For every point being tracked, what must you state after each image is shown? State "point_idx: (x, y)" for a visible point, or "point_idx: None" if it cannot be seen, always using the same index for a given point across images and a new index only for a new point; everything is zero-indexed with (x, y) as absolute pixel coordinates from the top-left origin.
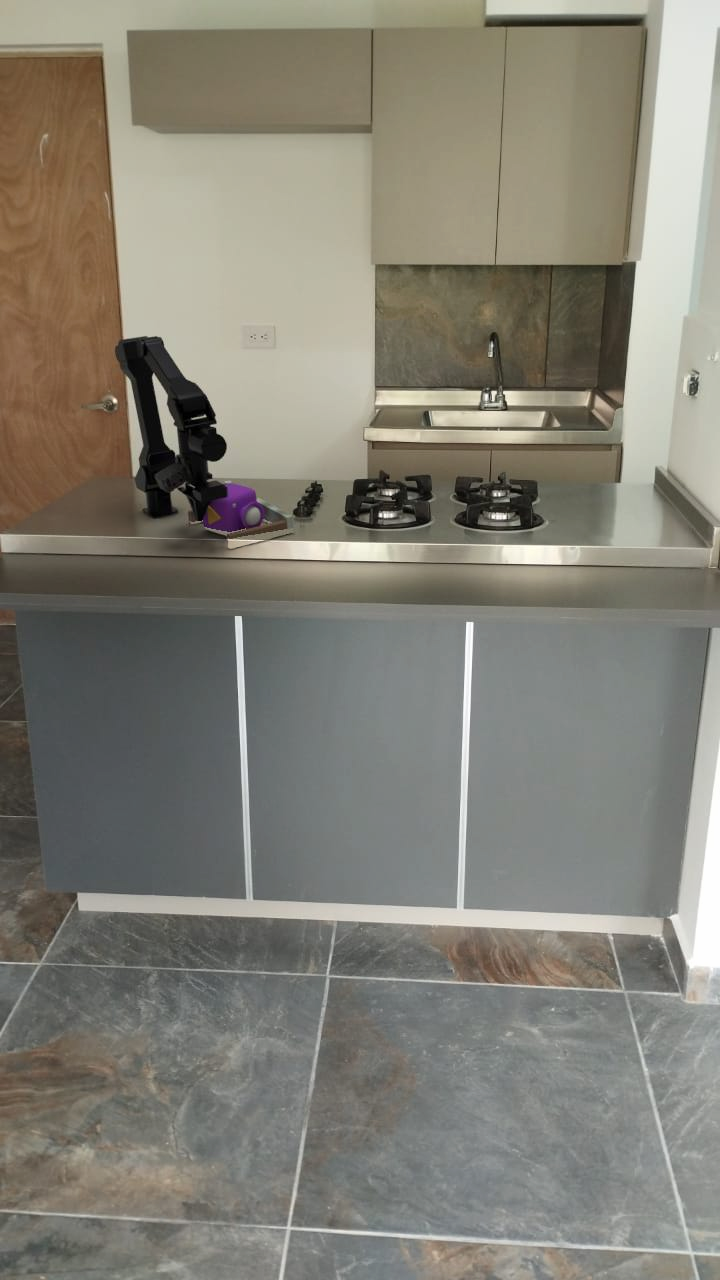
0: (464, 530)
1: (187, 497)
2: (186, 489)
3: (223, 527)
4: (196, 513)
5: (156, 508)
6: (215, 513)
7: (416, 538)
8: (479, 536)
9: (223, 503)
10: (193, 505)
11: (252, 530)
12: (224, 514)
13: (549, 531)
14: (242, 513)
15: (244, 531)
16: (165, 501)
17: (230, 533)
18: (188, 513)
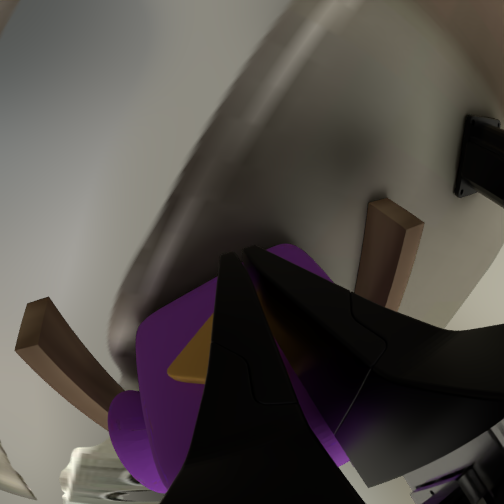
0: (111, 490)
1: (426, 334)
2: (482, 435)
3: (157, 339)
4: (225, 296)
5: (489, 141)
6: (202, 380)
7: (90, 479)
8: (92, 491)
9: (175, 471)
10: (311, 326)
11: (79, 409)
12: (157, 410)
13: (100, 500)
14: (128, 451)
15: (70, 394)
16: (496, 176)
17: (49, 358)
18: (415, 218)
